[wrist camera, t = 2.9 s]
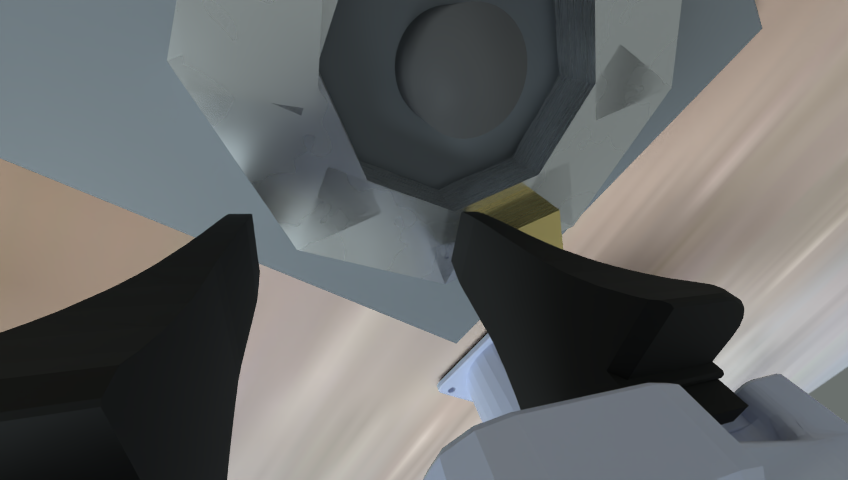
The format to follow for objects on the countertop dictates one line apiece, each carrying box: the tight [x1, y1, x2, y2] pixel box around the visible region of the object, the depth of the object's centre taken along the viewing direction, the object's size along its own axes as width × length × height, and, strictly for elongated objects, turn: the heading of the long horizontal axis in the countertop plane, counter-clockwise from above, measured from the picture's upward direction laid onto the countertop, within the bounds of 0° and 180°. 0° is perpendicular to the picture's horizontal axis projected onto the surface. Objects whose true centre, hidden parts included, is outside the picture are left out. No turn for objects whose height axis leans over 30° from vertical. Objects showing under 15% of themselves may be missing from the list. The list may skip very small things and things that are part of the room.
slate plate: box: [0, 0, 762, 343], centre depth 11 cm, size 20×20×3 cm
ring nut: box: [167, 0, 682, 284], centre depth 10 cm, size 14×14×4 cm
